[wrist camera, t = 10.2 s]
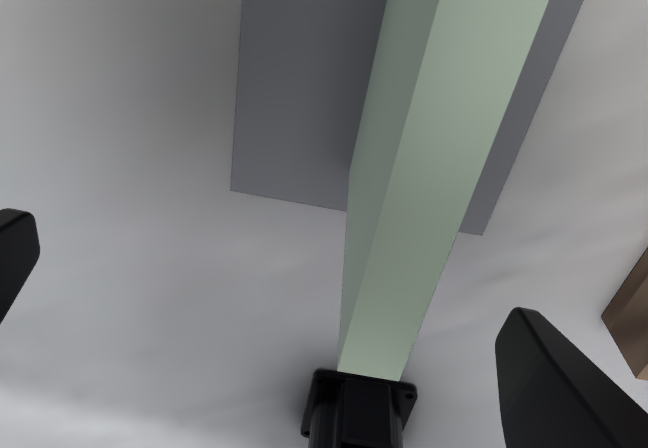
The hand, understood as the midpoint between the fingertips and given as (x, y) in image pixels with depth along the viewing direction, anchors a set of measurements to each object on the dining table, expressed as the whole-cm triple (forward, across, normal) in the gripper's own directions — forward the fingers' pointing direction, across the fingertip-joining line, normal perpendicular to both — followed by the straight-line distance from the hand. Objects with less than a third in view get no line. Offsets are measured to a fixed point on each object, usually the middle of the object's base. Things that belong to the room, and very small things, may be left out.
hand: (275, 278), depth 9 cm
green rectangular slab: (+12, -2, -3) cm, 13 cm away
